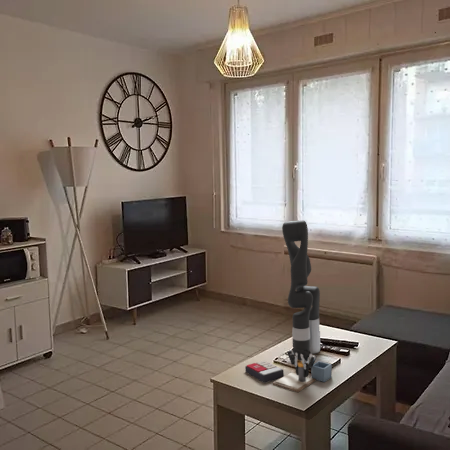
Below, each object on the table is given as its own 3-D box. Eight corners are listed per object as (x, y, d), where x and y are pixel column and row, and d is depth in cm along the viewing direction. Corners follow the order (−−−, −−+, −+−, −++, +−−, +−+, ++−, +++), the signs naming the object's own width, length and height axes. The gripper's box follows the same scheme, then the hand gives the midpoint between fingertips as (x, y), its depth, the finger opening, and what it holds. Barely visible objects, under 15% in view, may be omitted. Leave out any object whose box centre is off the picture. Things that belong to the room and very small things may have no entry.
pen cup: (318, 373, 224) (318, 361, 224) (331, 377, 220) (331, 364, 219) (311, 378, 219) (311, 365, 219) (324, 382, 215) (324, 369, 215)
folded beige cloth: (290, 373, 226) (290, 370, 226) (315, 380, 217) (315, 378, 217) (272, 384, 215) (272, 381, 215) (298, 392, 207) (298, 389, 207)
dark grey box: (264, 359, 235) (283, 368, 222) (264, 368, 235) (284, 377, 222) (244, 364, 229) (263, 374, 216) (245, 373, 230) (264, 383, 217)
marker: (301, 377, 218) (300, 360, 217) (307, 379, 216) (307, 362, 215) (296, 380, 215) (296, 362, 214) (303, 382, 213) (303, 364, 212)
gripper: (320, 337, 212) (320, 376, 214) (292, 331, 221) (293, 369, 223) (310, 342, 206) (311, 382, 208) (282, 336, 215) (283, 374, 217)
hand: (302, 375), depth 215 cm, fingers closed on marker, 3 cm apart
